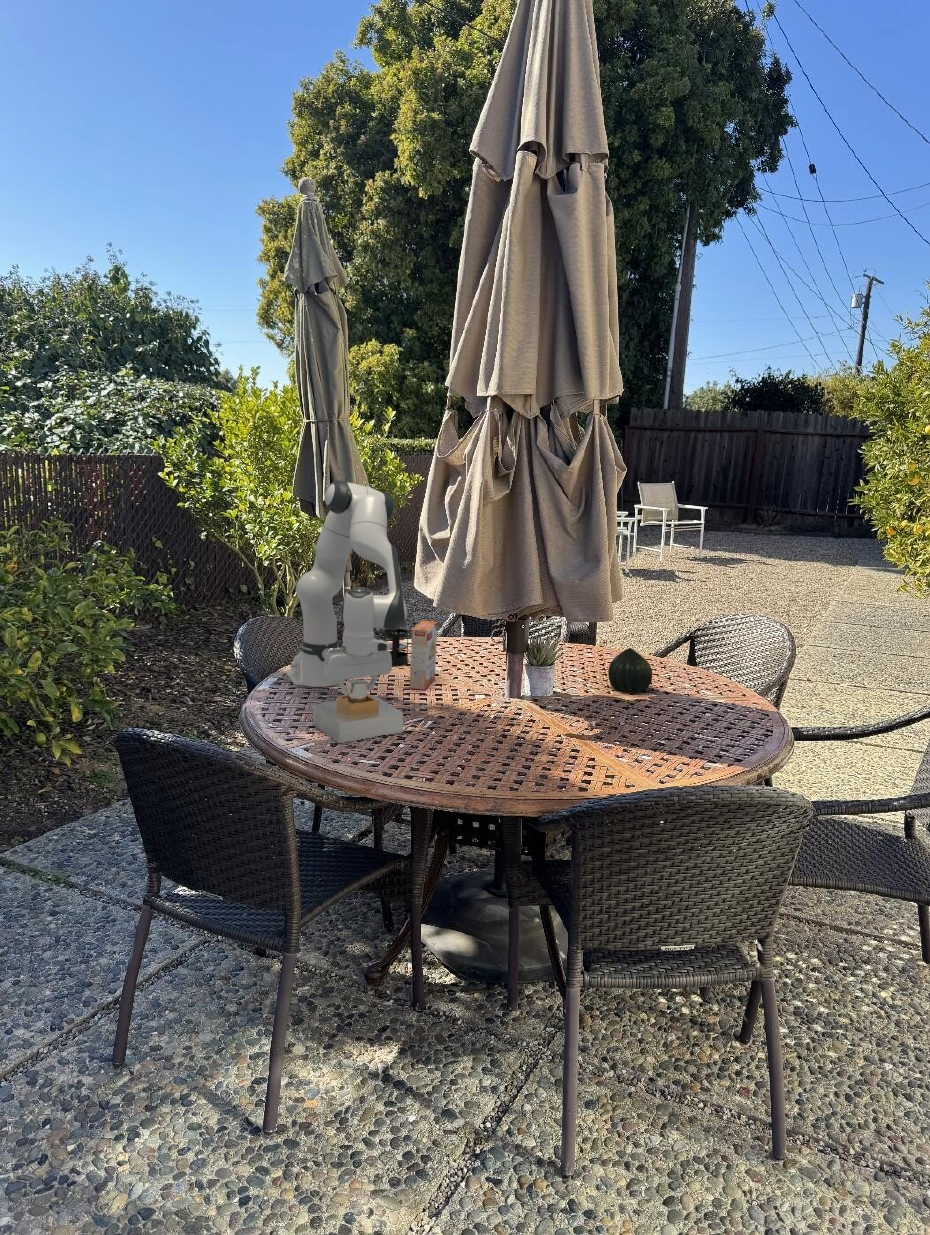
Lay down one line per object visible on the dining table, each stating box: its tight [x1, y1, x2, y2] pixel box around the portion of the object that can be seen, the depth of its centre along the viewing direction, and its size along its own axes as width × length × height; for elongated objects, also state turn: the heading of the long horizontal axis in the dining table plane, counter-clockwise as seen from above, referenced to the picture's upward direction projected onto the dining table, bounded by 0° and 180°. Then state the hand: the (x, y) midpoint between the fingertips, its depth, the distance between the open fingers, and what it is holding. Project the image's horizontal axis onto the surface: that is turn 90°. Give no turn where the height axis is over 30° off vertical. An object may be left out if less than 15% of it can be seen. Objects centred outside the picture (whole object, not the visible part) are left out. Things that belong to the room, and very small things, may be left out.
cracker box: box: [409, 620, 438, 691], centre depth 293 cm, size 14×6×21 cm, turn 168°
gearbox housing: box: [312, 693, 404, 744], centre depth 250 cm, size 18×20×9 cm
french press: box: [378, 617, 409, 667], centre depth 318 cm, size 12×9×23 cm
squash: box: [607, 647, 653, 694], centre depth 298 cm, size 14×15×15 cm
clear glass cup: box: [348, 678, 368, 704], centre depth 249 cm, size 5×5×8 cm
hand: (357, 691), depth 249 cm, fingers open, 7 cm apart
